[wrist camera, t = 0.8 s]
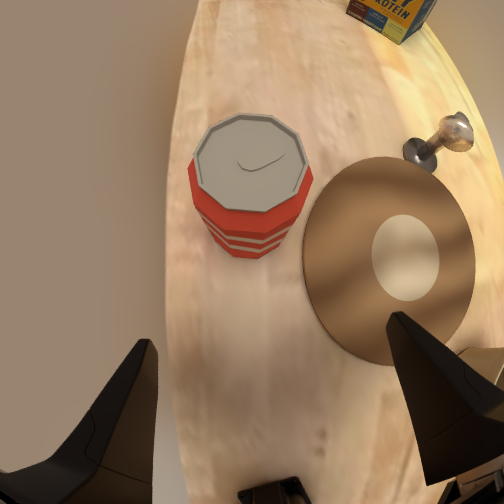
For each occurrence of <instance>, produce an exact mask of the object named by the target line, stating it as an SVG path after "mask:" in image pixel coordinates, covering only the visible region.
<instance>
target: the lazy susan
mask: <svg viewBox="0 0 504 504" xmlns="http://www.w3.org/2000/svg"><path fill="white" fill-rule="evenodd" d="M303 269H304V276H305V281H306V287H307V290H308V293H309V297H310V300H311V302H312V305H313V307H314V309H315V311H316V314H317V316H318V317H319V319H320V321H321V322H322V324H323V325H324V327H325V328H326V330H327V331H328V332H329V333H330V334H331V336H332V337H333V338H334V339H335V340H336V341H337V342H338V343H339V344H340V345H341V346H343V347H344V348H345V349H347V350H348V351H350V352H351V353H353V354H354V355H356V356H358V357H360V358H362V359H364V360H366V361H369V362H371V363H375V364H379V365H385V366H394V362H393V359H392V354H391V350H390V346H389V342H388V338H387V334H386V324H387V322H388V320H389V317H390V315H391V313H392V312H395V311H403V312H404V313H405V314H407V315H408V316H409V317H411V318H412V319H413V320H414V321H416V322H417V323H418V324H419V325H421V326H422V327H423V328H424V329H426V330H427V331H428V332H429V333H431V334H432V335H433V336H434V337H436V338H437V339H438V340H439V341H441V342H442V343H443V344H444V345H445V344H446V343H447V341H448V340H449V339H450V338H451V337H452V336H453V334H454V333H455V332H456V330H457V329H458V328H459V326H460V324H461V322H462V320H463V319H464V317H465V314H466V312H467V310H468V307H469V304H470V301H471V297H472V293H473V288H474V282H475V252H474V245H473V240H472V235H471V232H470V229H469V226H468V223H467V221H466V218H465V216H464V214H463V212H462V210H461V208H460V206H459V204H458V203H457V201H456V200H455V198H454V197H453V195H452V194H451V193H450V191H449V190H448V189H447V188H446V187H445V186H444V185H443V184H442V183H441V182H440V181H439V180H438V179H437V178H436V177H435V176H434V175H432V174H431V173H430V172H428V171H427V170H425V169H423V168H422V167H420V166H418V165H416V164H414V163H411V162H409V161H406V160H402V159H399V158H392V157H374V158H369V159H364V160H361V161H359V162H356V163H354V164H352V165H350V166H348V167H347V168H345V169H343V170H342V171H341V172H340V173H338V174H337V175H336V176H335V177H334V178H333V179H332V180H331V181H330V182H329V183H328V184H327V186H326V187H325V188H324V190H323V191H322V193H321V194H320V196H319V197H318V199H317V201H316V203H315V205H314V207H313V209H312V211H311V213H310V216H309V219H308V222H307V226H306V231H305V236H304V244H303Z"/></svg>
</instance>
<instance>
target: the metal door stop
mask: <svg viewBox="0 0 504 504" xmlns="http://www.w3.org/2000/svg"><path fill="white" fill-rule="evenodd" d="M473 143H474V138H473V129H472V126H471V125H470V123H469V120H468V118H467V117H466V116H465V115H464V114H463V113H462V112H457V113H456V114H455V115H450V116H446V117H444V118H442V119H441V120H440V122H439V128H438V131H437V132H436V133H435V134H434V135H433V136H432V137H430V138H429V139H428V140H427V141H426V142H425V141H424V140H422V139H419V138H411V139H409V140H408V141H407V142H406V143H405V145H404V147H403V155H404V158H405V160H406V161H409V162H411V163H414V164H416V165H418V166H420V167H422V168H423V169H425V170H427V171H428V172H430V173H432V172H434V171H435V169H436V167H437V158H436V155H435V154H436V153H437V152H438V151H439V150H441V149H442V148H443V147H444V146H445V147H446V148H447V149H449V150H452V151H455V152H465V151H468V150H470V149H471V148H472V146H473Z"/></svg>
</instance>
